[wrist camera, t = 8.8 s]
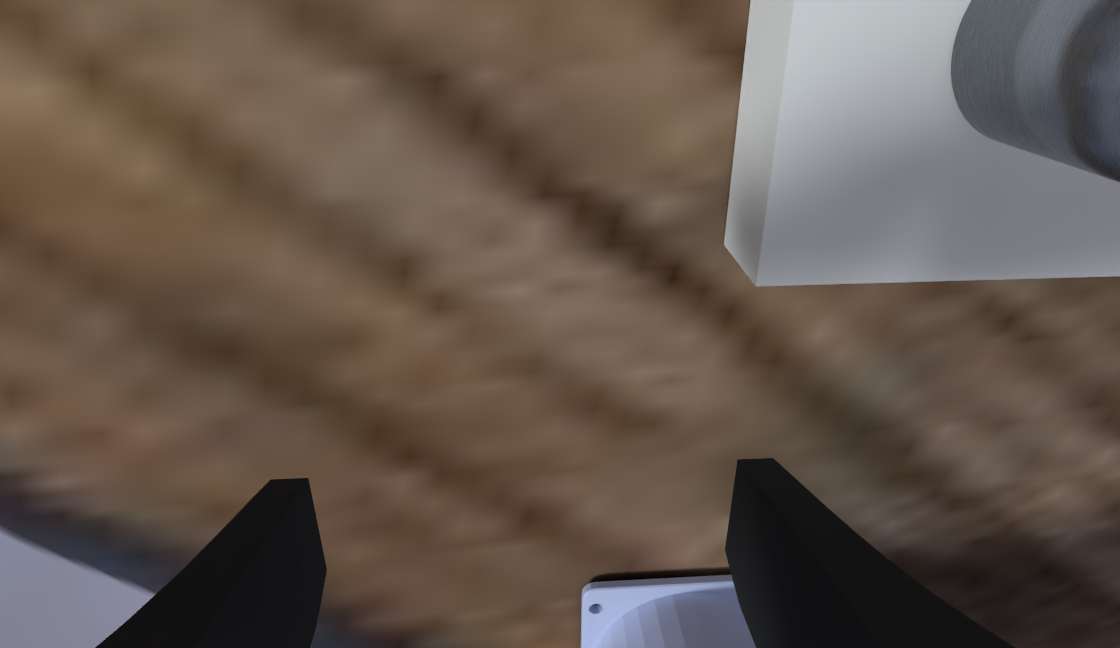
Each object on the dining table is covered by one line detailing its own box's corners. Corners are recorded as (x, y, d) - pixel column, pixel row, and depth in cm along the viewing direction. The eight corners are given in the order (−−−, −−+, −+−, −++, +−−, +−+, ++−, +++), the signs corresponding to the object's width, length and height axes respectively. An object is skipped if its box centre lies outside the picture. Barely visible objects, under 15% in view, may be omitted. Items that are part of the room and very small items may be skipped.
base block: (1115, 235, 22) (1201, 273, 19) (723, 244, 21) (755, 286, 18) (1303, -270, 16) (1462, -316, 13) (781, -281, 15) (839, -331, 13)
